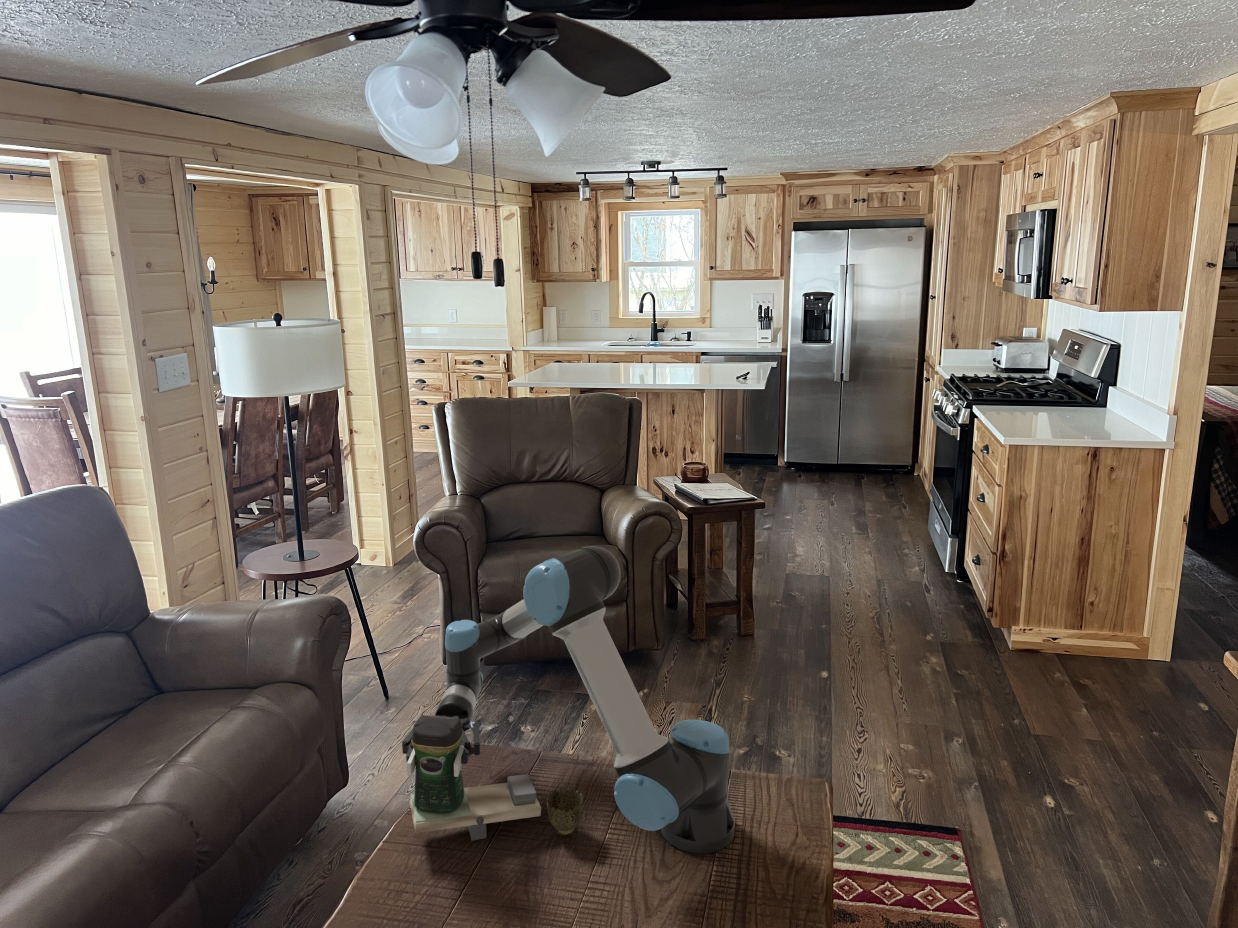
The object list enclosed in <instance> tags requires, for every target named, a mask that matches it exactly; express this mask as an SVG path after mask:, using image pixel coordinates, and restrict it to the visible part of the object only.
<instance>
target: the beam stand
mask: <svg viewBox="0 0 1238 928" xmlns="http://www.w3.org/2000/svg"><path fill="white" fill-rule="evenodd" d="M467 829H468V833H469V836H470V840H471V842H474V841H477V840H481V839H487V823H485V824H480V825H479V824H478V825H471V826H467Z"/></svg>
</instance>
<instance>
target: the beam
mask: <svg viewBox="0 0 1238 928" xmlns="http://www.w3.org/2000/svg"><path fill="white" fill-rule="evenodd" d="M506 779H507V780H506V781H507V782H502V783H491V784H483V785H477V786H476V785H475V786H469V787H464V799H463V801H462V803H461V805H460V806H459V808H458V809H456V810H455V811H453V812H451V813H432V812H425V811H421V810H418V809H417V808H416V807H415V805H414V793H411V794H409V806H410V811H411V817H412V822H413V828H414V833H415V834H419V833H425V832H433V831H441V830H447V829H455V828H463V827H468V826H471V825H478V824H479V825H480V824H485V823H486V824H491V823H499V822H506V821H515V820H521V819H528V818H534V817H535V818H536V817H541V811H542V806H541V804H540V801H539V800H538V796H537V791H536V789H535V787H534V785H533V782H532V780H531V778H530V775H529V774H528V773H526V774H517V775H509V776H507V778H506Z"/></svg>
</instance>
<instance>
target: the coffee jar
mask: <svg viewBox="0 0 1238 928" xmlns="http://www.w3.org/2000/svg"><path fill="white" fill-rule="evenodd" d="M412 729H413V731H412V732H413V733H412V740H411V741H412V745H413V748H414V750H415V758H416V766H415V773H414V774H415V778H414V792H413V794H414V805H415V807H416V808H417V809H418V810H421V811H425V812H432V813H451V812H453V811H455V810H456V809H458V808H459V806H460V805H461V803H462V801H463V799H464V788H465V787H464V781H463V772H462V768H461V769H460V772H459V776H458V777H454V762H455V759H456V756H457V753H458V751H459V748H460V744H461V741H462V736H463V733H462V727H461V722H460V719H458V718H454V717H445V716H435V715H433V714H432V715H428V714H426V715H425V714H421V715H420V716H419V717H418V718H417V719H416V720H415V722H414V724H413V727H412Z"/></svg>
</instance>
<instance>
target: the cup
mask: <svg viewBox="0 0 1238 928" xmlns="http://www.w3.org/2000/svg"><path fill="white" fill-rule="evenodd" d="M547 794H548V795H547V797H548V798H546V806H547V815H548V819H549V822H550V824H551V826H552V827H553V828H554V829H555V831H556V833H557V834H558V836H560V837H569V836H571V835H572V834H573V833H574V830H575V828H577V826H578V825H579V823H580V821H581V817H582V811H583V802H584V796H583V793H582V792H581V793H580V791H579V790H578V789H577V790H576V791H575V789H574V788H573V787H572V788H569V787H566V788H565V790H564V788H563V787H560V789H559V790H558V789H556V788H553V790H552V791H551V792H548V793H547Z"/></svg>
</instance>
